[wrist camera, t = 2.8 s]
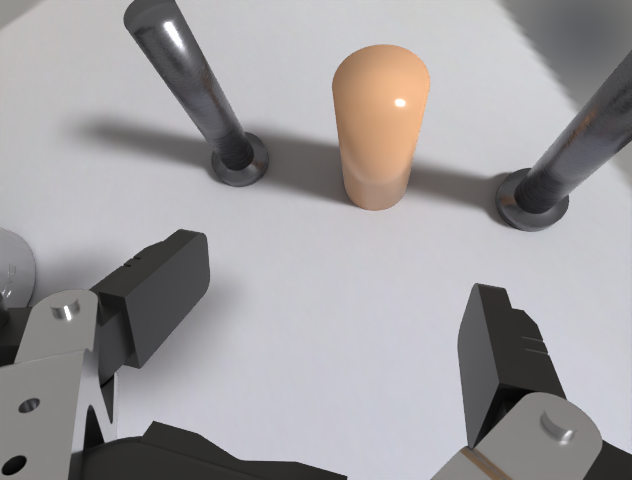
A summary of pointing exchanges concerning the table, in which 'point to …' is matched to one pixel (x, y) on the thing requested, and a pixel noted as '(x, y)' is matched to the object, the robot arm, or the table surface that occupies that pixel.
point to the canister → (379, 121)
